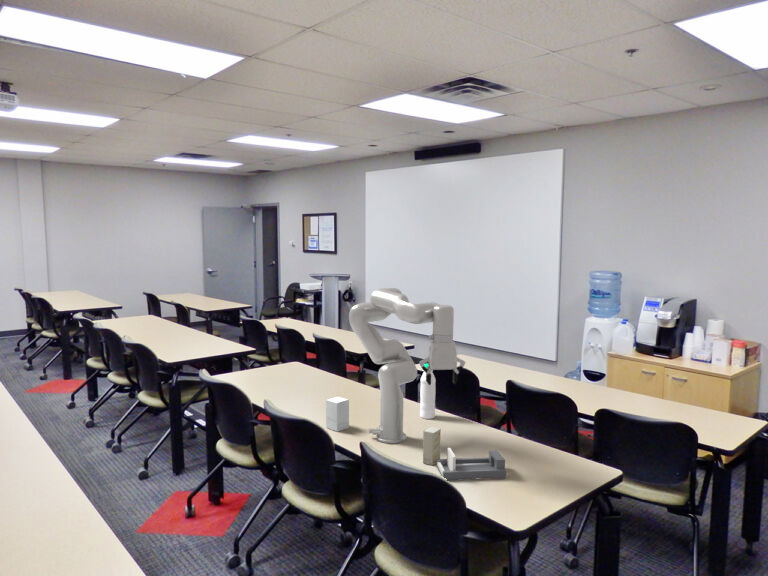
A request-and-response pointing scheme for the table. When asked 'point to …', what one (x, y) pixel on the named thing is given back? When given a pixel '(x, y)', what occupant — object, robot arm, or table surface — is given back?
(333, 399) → the supplement box
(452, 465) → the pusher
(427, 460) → the skincare box
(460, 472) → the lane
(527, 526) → the table surface
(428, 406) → the water bottle
